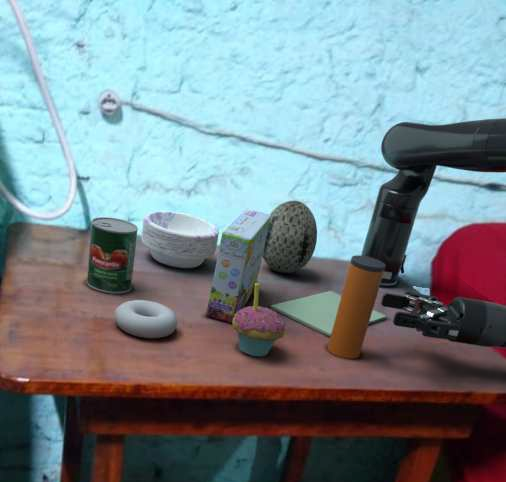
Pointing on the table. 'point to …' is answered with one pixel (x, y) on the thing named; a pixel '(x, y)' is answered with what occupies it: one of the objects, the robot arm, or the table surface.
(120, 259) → the canned tomato
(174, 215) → the paper bowls
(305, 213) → the decorative egg
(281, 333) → the cupcake
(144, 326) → the donut
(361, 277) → the crisps tube
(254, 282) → the snack box
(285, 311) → the placemat
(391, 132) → the robot arm
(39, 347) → the table surface
